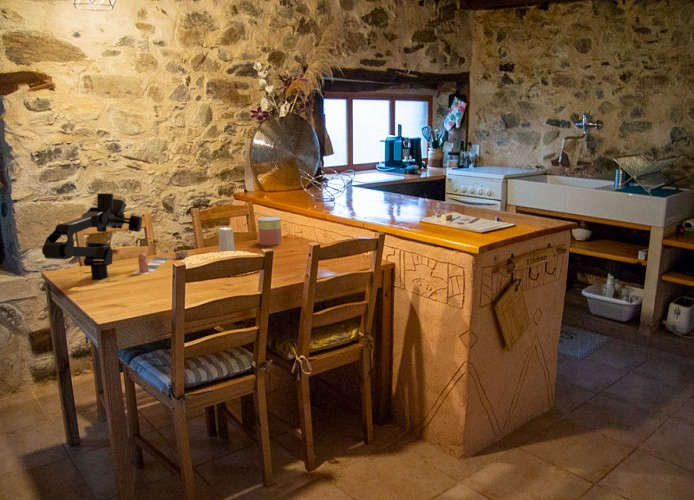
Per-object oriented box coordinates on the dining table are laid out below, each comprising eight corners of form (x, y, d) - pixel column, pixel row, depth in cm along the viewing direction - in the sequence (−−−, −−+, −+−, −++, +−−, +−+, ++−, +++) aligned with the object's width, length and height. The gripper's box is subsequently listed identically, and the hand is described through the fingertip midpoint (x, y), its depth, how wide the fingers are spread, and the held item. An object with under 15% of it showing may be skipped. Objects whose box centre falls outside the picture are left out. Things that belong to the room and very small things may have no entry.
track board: (150, 276, 225) (150, 274, 224) (131, 276, 225) (130, 274, 224) (172, 259, 251) (172, 256, 250) (154, 259, 251) (154, 256, 251)
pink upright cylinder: (146, 272, 226) (145, 254, 224) (138, 272, 226) (136, 254, 225) (149, 270, 230) (148, 252, 228) (141, 270, 230) (139, 252, 228)
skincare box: (235, 254, 258) (233, 228, 255) (227, 256, 255) (225, 230, 252) (227, 252, 262) (225, 227, 259) (219, 254, 259) (217, 228, 256)
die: (185, 261, 247) (184, 252, 246) (175, 261, 247) (175, 252, 246) (188, 259, 251) (187, 250, 250) (178, 259, 251) (178, 250, 250)
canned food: (261, 239, 287) (260, 216, 285) (284, 240, 286) (283, 216, 283) (256, 245, 277) (255, 220, 274) (279, 245, 275) (278, 220, 273)
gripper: (134, 203, 224) (152, 206, 239) (90, 196, 226) (111, 199, 242) (129, 231, 224) (148, 232, 240) (86, 224, 227) (107, 225, 242)
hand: (129, 221), depth 241 cm, fingers open, 9 cm apart
